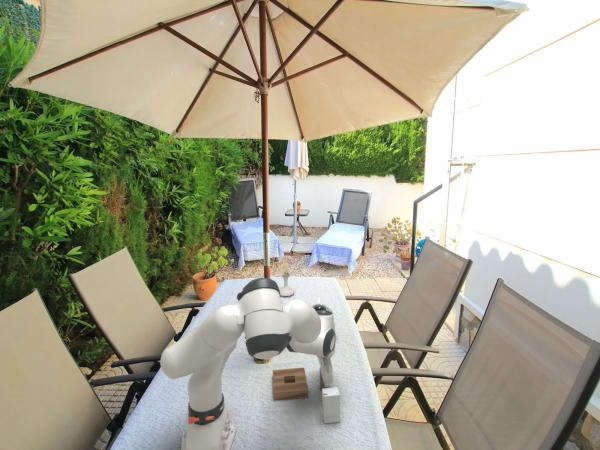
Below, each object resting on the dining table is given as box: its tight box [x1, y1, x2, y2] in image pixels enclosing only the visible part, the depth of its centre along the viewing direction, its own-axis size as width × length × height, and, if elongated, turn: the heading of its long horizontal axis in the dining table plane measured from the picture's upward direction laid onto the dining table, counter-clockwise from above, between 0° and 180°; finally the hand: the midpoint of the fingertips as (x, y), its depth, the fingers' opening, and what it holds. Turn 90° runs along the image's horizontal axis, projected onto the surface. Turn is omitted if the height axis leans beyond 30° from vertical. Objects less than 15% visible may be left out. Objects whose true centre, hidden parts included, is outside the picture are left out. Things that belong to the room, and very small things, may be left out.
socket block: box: [272, 367, 309, 401], centre depth 137 cm, size 14×14×4 cm
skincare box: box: [321, 386, 341, 424], centre depth 119 cm, size 6×4×12 cm
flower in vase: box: [279, 261, 295, 297], centre depth 223 cm, size 13×11×25 cm
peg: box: [319, 368, 328, 392], centre depth 135 cm, size 3×3×10 cm
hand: (324, 377), depth 134 cm, fingers open, 8 cm apart
